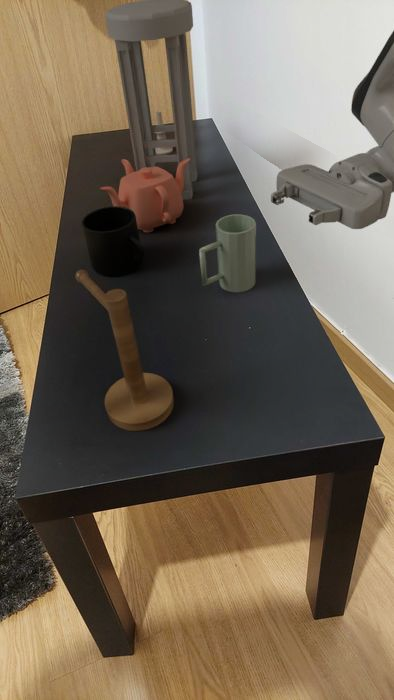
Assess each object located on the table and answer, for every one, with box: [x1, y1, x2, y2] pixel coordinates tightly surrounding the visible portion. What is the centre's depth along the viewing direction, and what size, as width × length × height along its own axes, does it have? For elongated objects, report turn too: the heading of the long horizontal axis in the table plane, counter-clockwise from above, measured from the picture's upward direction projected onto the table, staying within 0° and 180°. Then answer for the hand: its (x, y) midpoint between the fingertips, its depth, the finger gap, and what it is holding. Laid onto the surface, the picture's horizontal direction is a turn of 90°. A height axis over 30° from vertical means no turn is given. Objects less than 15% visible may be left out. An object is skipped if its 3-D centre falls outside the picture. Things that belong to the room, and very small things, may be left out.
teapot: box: [99, 158, 190, 234], centre depth 102 cm, size 14×14×11 cm
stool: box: [104, 0, 198, 201], centre depth 104 cm, size 16×16×35 cm
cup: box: [198, 213, 257, 293], centre depth 83 cm, size 10×6×11 cm, turn 124°
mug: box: [81, 205, 145, 277], centre depth 91 cm, size 9×12×9 cm
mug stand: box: [74, 269, 175, 432], centre depth 64 cm, size 16×9×18 cm, turn 34°
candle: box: [153, 111, 174, 155], centre depth 130 cm, size 5×5×10 cm
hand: (291, 209), depth 85 cm, fingers open, 8 cm apart
